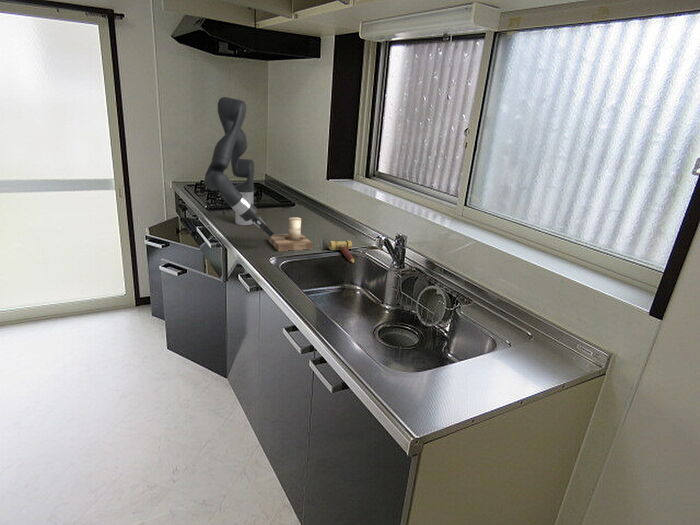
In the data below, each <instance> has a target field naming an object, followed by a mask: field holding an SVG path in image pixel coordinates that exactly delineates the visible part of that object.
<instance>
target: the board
mask: <svg viewBox="0 0 700 525" xmlns="http://www.w3.org/2000/svg"><path fill="white" fill-rule="evenodd" d="M267 235H268V234H267ZM267 237H268V240H267V241H268V242H269V243H270V244H271V245H272V247H273V248H274V249H275V250H276V251H277V252H289V251H288V250H294V251H304V250H303V249H309V250H313V242H312V241H311V240H309V239H308V238H307V237H306V236H305V235H304V234H302V233H301V235H300V240H289V239H288V233H278V234H277V233H275V234H273V235H272V236H271V237H270V236H269V235H268V236H267Z"/></svg>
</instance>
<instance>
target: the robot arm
mask: <svg viewBox="0 0 700 525" xmlns="http://www.w3.org/2000/svg"><path fill="white" fill-rule="evenodd" d="M217 114H218V117H219V120H220V123H221V127H222V128H223V132H224V135H223V136H221V138H220V139H219V140H218V141H217V143H216V145H215V146H214V150H213V153H212V158H211V162H210V164H209V165H208V168H207V171H206V173H205V175H204V185H205V187H206V188H207V189H208V190H209V191H218V192H220V194H221V196H222V197H221V198H222V200H223V201H224V202H225V203H227V205H228V206H230V208H232V210H233V211H234V212H235V213H234V217H235V218H234V220H235V221H234V222H235V224H236V225H240V226H249V225H255V226H256V227H258V229H260V230H262V232H265V233H266V234H267V235H269V236H270V237H271V236H272V235H273V234H274V232H273V231H272V230H271V229H270V228H269V226H267V225H266V222H265V221H264V220H263V219H262V217H260V216H259V214H257V213H258V208H257V207H256V206H255V205H254V183H255V182H254V181H255V180H254V179H255V177H254V176H255V162H254V160H253V159H247V158H241V157H242V156H243V155H244V154H245V153H246V152H247V149H248V140H247V136H246V135H247V134H246V133H245V132H244V130H243V129H242V127H243V124H244V122H245V119H246V114H247V104H246V102H245V101H244V100H242V99H241V100H240V99H238V98H237V99H236V98H232V97H228V96H227V97H226V96H223V97H220V98H219V99H218V102H217ZM229 165H231V171H232V174H233V176H234V177H236V178H244V179H245V178H246V180H245V181H243V182H240V183H237V184H235V185H234V184H233V182H232V181H231V179H230V178H229V177H228V176H227V175H226V174H225V171H226V169H228V167H229Z"/></svg>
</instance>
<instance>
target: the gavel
mask: <svg viewBox="0 0 700 525" xmlns="http://www.w3.org/2000/svg"><path fill="white" fill-rule="evenodd" d="M352 248H353V242H352V241H351V240H344V241H343V240H341V241H335V240H330V241H329V242H328V250H329V249H330V250H335V251H341V253H342V255H344V257H345V258H346V259H347V261H348V262H349V263H352V264H354V263H355V257H354V256H353V255H352V253H351V252H350V250H347V249H351V250H352Z"/></svg>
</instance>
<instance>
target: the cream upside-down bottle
mask: <svg viewBox="0 0 700 525" xmlns="http://www.w3.org/2000/svg"><path fill="white" fill-rule="evenodd" d="M301 230H302V218H301V217H297V216H296V217H295V216H292V217H289V218H288V230H287V232H288V233H287V234H288V239H289V240H300V235H301V234H302V232H301Z"/></svg>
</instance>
